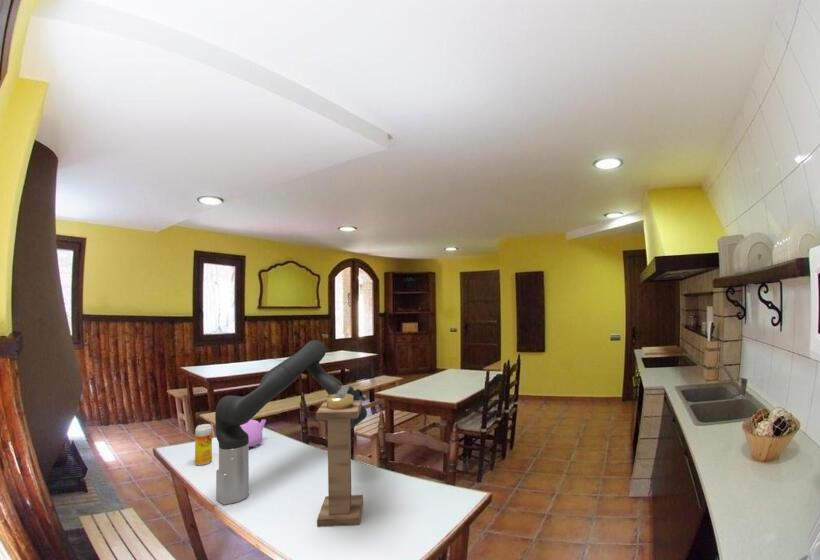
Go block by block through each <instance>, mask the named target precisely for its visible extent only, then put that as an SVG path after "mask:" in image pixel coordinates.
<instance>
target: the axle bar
mask: <svg viewBox="0 0 820 560" xmlns="http://www.w3.org/2000/svg"><path fill="white" fill-rule="evenodd" d="M349 386H351V387H352V385H350V384H349V385H344V386H341V388H340V389H339V391H338V393H337V394H333V395H329V394H328V395H327V396H326V402H327V408H328V409H332V410H341V409H347V408H351V407H352V406H353V395H351V394H349Z"/></svg>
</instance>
